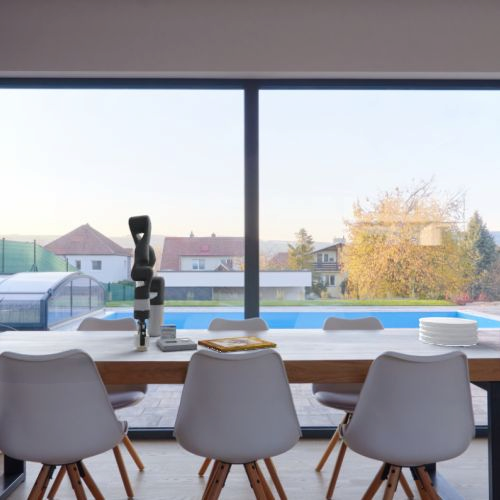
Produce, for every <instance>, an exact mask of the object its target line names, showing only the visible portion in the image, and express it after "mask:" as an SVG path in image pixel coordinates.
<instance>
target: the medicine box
mask: <svg viewBox="0 0 500 500" xmlns="http://www.w3.org/2000/svg"><path fill="white" fill-rule="evenodd" d="M174 338H177V325H176V324H164V325H160V336H159V339H174Z"/></svg>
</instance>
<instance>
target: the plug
mask: <svg viewBox="0 0 500 500" xmlns="http://www.w3.org/2000/svg"><path fill="white" fill-rule="evenodd" d="M133 346H134V347H135V348H136V351H137V352H143V351H144V352H145V351H147V350H148V349H147V347H150V336H149V335H148V334H147V333H146V337H145V346H140V334H138V333H137V334H133Z"/></svg>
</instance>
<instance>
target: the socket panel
mask: <svg viewBox="0 0 500 500" xmlns="http://www.w3.org/2000/svg"><path fill="white" fill-rule="evenodd" d="M156 345H157V346H158V348H160V350H161V351H163V352H175V351H177V350H179V351H190V350H189V349H194V350H198V343H197V342H195V341H194V340H192V339H191V338H189V337H179V338H178V337H176V338H174V339H160V338H158V339H156Z"/></svg>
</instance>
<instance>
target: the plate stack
mask: <svg viewBox="0 0 500 500" xmlns="http://www.w3.org/2000/svg"><path fill="white" fill-rule="evenodd" d="M418 321H419V325H418V327H419V329H418V330H419V331H418V332H419V335H418V336H419V338H418V339H419V340H421V341H423V342H428V343H433V344H442V345H473V344H477V343H478V344H479V341H478V340H479V335H478V334H479V331H478V329H479V327H478V325H479V323H478V321H477V320H475V319H469V318H461V317H450V316H449V317H448V316H447V317H443V316H433V317H432V316H431V317H421V318H419V319H418Z"/></svg>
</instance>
